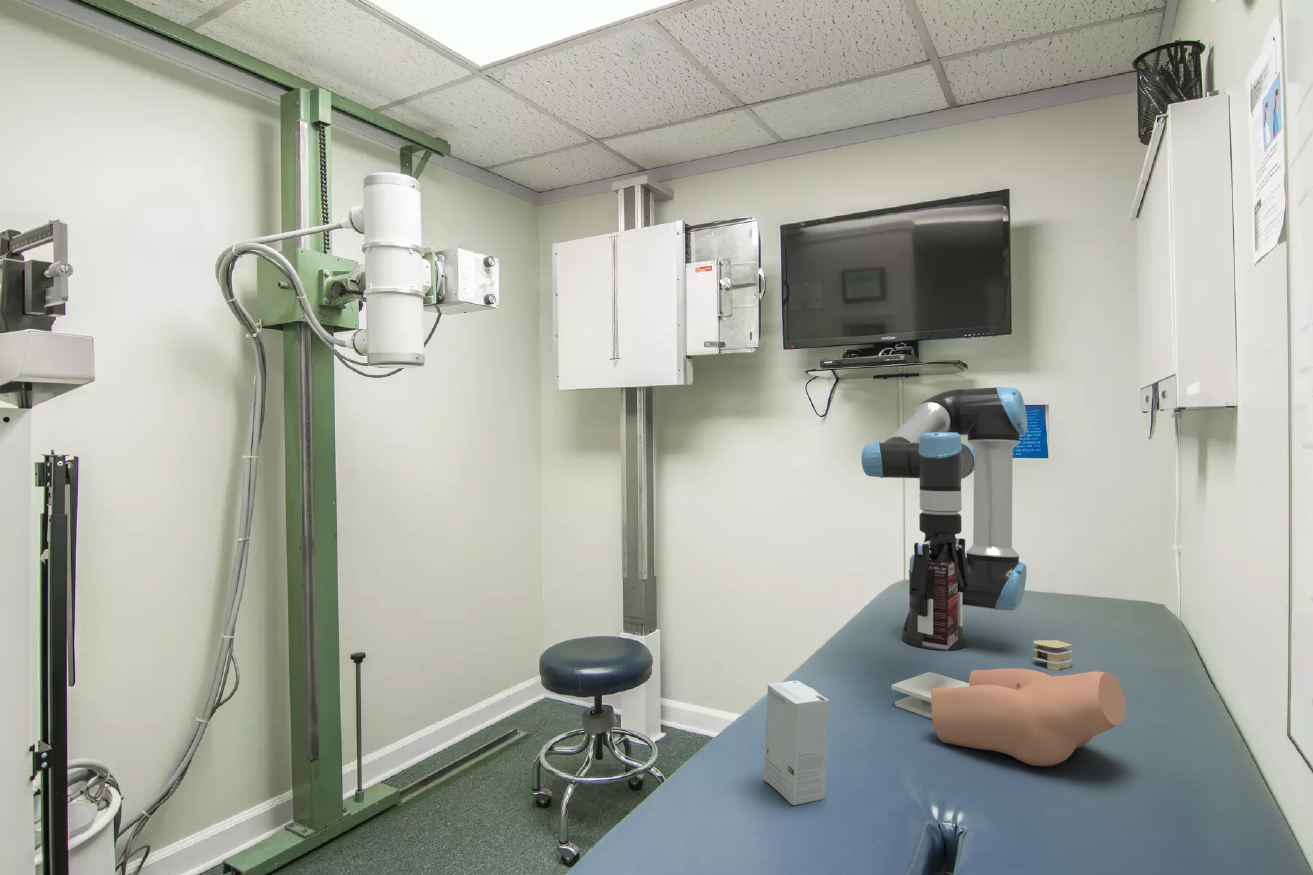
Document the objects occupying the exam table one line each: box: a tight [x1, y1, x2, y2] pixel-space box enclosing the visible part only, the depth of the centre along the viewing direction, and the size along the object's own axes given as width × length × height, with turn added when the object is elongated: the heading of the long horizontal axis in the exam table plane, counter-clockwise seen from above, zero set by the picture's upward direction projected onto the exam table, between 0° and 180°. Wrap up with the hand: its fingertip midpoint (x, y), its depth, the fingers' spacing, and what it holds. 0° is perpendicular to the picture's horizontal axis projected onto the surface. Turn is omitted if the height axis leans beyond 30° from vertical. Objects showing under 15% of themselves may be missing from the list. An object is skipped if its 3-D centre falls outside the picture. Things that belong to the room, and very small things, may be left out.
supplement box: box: [923, 560, 958, 651], centre depth 133 cm, size 9×5×16 cm, turn 144°
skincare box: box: [763, 680, 830, 806], centre depth 102 cm, size 8×6×15 cm
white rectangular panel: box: [890, 671, 969, 720], centre depth 133 cm, size 13×13×4 cm
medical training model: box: [931, 667, 1126, 767], centre depth 115 cm, size 21×25×13 cm
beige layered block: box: [1032, 639, 1073, 671], centre depth 158 cm, size 10×9×6 cm
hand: (940, 628), depth 133 cm, fingers closed on supplement box, 9 cm apart
